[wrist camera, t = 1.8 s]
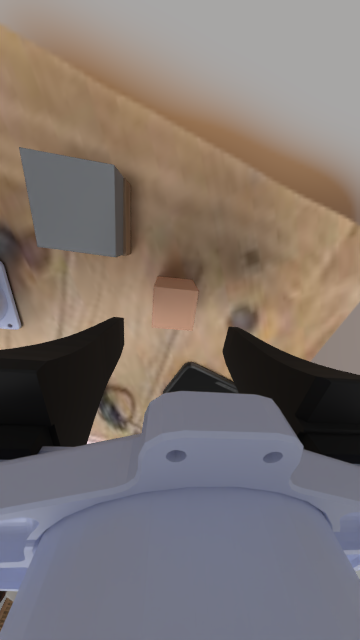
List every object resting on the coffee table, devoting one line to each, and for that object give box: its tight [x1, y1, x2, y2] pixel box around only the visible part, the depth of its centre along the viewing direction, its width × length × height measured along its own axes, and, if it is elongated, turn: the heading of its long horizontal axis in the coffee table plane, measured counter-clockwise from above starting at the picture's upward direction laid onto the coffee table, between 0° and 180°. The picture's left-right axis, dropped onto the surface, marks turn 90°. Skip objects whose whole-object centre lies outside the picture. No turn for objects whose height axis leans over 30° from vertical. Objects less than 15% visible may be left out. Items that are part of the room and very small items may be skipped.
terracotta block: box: [152, 276, 199, 331], centre depth 18 cm, size 4×4×5 cm
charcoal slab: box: [19, 147, 123, 257], centre depth 14 cm, size 6×6×2 cm
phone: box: [163, 362, 239, 394], centre depth 28 cm, size 8×1×15 cm
